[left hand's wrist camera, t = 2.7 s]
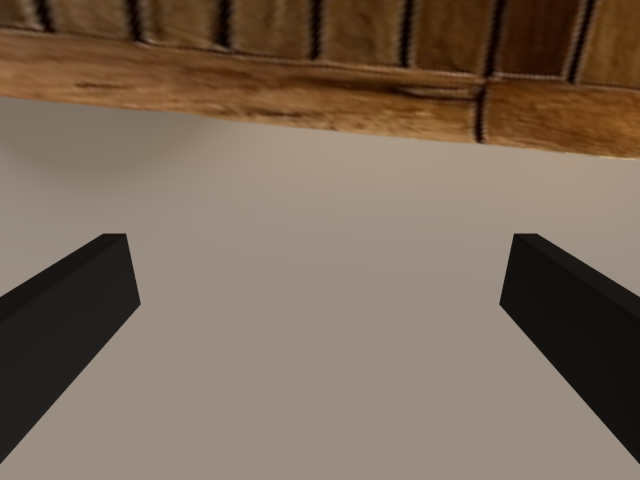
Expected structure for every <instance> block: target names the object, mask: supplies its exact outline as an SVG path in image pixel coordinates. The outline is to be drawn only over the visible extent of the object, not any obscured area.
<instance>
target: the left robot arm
mask: <svg viewBox="0 0 640 480" xmlns="http://www.w3.org/2000/svg"><path fill="white" fill-rule="evenodd" d="M140 304H141V303H140V298H139V294H138V289H137V284H136V279H135V274H134V270H133V265H132V260H131V255H130V251H129V246H128V241H127V236H126V234H102V235H100V236H99V237H97V238H95V239H94V240H92V241H90V242H89V243H87V244H86V245H84V246H83V247H81V248H79V249H78V250H76V251H74V252H73V253H71V254H69V255H68V256H66V257H65V258H63V259H61V260H60V261H58V262H57V263H55V264H53V265H52V266H50V267H48V268H47V269H45V270H43V271H42V272H40V273H39V274H37V275H35V276H34V277H32V278H30V279H29V280H27V281H26V282H24V283H22V284H21V285H19V286H17V287H16V288H14V289H13V290H11V291H9V292H8V293H6V294H4V295H3V296H1V297H0V464H1V463H2V462H3V460H4V459H5V458H6V457H7V456H8V455H9V454H10V452H11V451H12V450H13V449H14V448H15V447H16V446H17V445H18V443H19V442H20V441H21V440H22V439H23V438H24V437H25V435H26V434H27V433H28V432H29V431H30V430H31V429H32V427H33V426H34V425H35V424H36V423H37V422H38V421H39V420H40V418H41V417H42V416H43V415H44V414H45V413H46V412H47V410H48V409H49V408H50V407H51V406H52V405H53V404H54V402H55V401H56V400H57V399H58V398H59V397H60V395H61V394H62V393H63V392H64V391H65V390H66V389H67V388H68V386H69V385H70V384H71V383H72V382H73V381H74V380H75V379H76V377H77V376H78V375H79V374H80V373H81V372H82V371H83V369H84V368H85V367H86V366H87V365H88V364H89V363H90V361H91V360H92V359H93V358H94V357H95V356H96V355H97V353H98V352H99V351H100V350H101V349H102V348H103V347H104V346H105V344H106V343H107V342H108V341H109V340H110V339H111V338H112V336H113V335H114V334H115V333H116V332H117V331H118V330H119V328H120V327H121V326H122V325H123V324H124V323H125V322H126V320H127V319H128V318H129V317H130V316H131V315H132V314H133V312H134V311H135V310H136V309H137V308H138V307H139V306H140ZM499 304H500V306H501V307H502V308H503V309H504V310H505V311H506V312H507V314H508V315H509V316H510V317H511V318H512V319H513V320H514V322H515V323H516V324H517V325H518V326H519V327H520V328H521V330H522V331H523V332H524V333H525V334H526V335H527V336H528V338H529V339H530V340H531V341H532V342H533V343H534V344H535V345H536V347H537V348H538V349H539V350H540V351H541V352H542V353H543V355H544V356H545V357H546V358H547V359H548V360H549V361H550V363H551V364H552V365H553V366H554V367H555V368H556V369H557V371H558V372H559V373H560V374H561V375H562V376H563V377H564V379H565V380H566V381H567V382H568V383H569V384H570V385H571V387H572V388H573V389H574V390H575V391H576V392H577V393H578V394H579V396H580V397H581V398H582V399H583V400H584V401H585V402H586V404H587V405H588V406H589V407H590V408H591V409H592V410H593V412H594V413H595V414H596V415H597V416H598V417H599V418H600V419H601V421H602V422H603V423H604V424H605V425H606V426H607V427H608V429H609V430H610V431H611V432H612V433H613V434H614V435H615V437H616V438H617V439H618V440H619V441H620V442H621V443H622V445H623V446H624V447H625V448H626V449H627V450H628V451H629V453H630V454H631V455H632V456H633V457H634V458H635V459H636V460H637V462H638V463H639V464H640V297H639V296H637V295H636V294H634V293H632V292H631V291H629V290H627V289H626V288H624V287H623V286H621V285H619V284H618V283H616V282H614V281H613V280H611V279H610V278H608V277H606V276H605V275H603V274H601V273H600V272H598V271H597V270H595V269H593V268H592V267H590V266H588V265H587V264H585V263H584V262H582V261H580V260H579V259H577V258H575V257H574V256H572V255H571V254H569V253H567V252H566V251H564V250H562V249H561V248H559V247H558V246H556V245H554V244H553V243H551V242H550V241H548V240H546V239H545V238H543V237H541V236H540V235H538V234H514V236H513V241H512V246H511V250H510V255H509V260H508V265H507V270H506V275H505V279H504V284H503V289H502V294H501V298H500V303H499Z"/></svg>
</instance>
